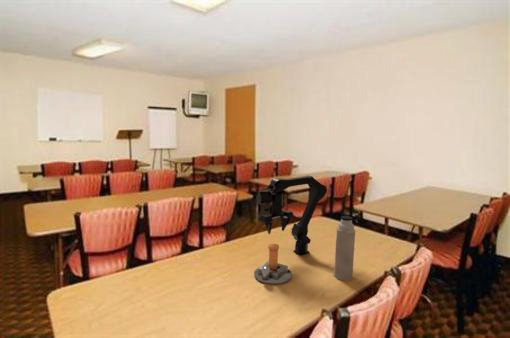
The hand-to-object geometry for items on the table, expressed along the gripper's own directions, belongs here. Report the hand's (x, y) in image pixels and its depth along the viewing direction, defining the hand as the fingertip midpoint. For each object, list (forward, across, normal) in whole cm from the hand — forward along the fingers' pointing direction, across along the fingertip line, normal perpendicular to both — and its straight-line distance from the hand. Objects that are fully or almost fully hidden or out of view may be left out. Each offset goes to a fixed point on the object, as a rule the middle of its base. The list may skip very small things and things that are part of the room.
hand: (276, 232), depth 166 cm
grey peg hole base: (+13, +15, +16) cm, 25 cm away
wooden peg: (+12, +15, +16) cm, 25 cm away
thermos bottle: (+13, -11, +35) cm, 39 cm away
